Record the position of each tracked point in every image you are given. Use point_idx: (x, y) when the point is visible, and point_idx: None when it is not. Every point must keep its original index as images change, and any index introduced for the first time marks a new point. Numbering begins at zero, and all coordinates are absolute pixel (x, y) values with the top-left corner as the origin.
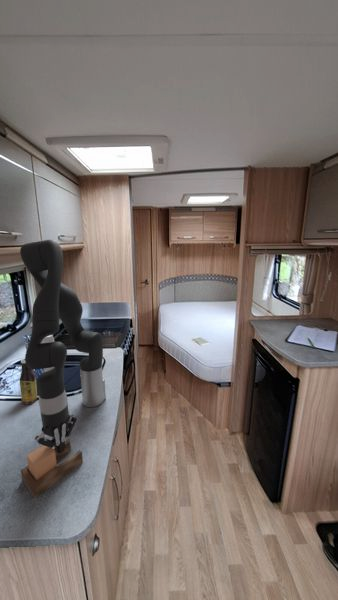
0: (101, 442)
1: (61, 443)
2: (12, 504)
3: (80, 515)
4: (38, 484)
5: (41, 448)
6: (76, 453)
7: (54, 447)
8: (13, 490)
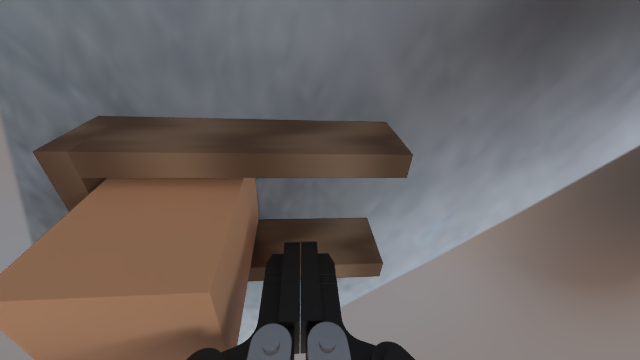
0: (484, 208)
1: (303, 351)
2: (51, 197)
3: (250, 333)
4: None
5: (139, 313)
6: (358, 268)
7: (262, 291)
8: (48, 135)
